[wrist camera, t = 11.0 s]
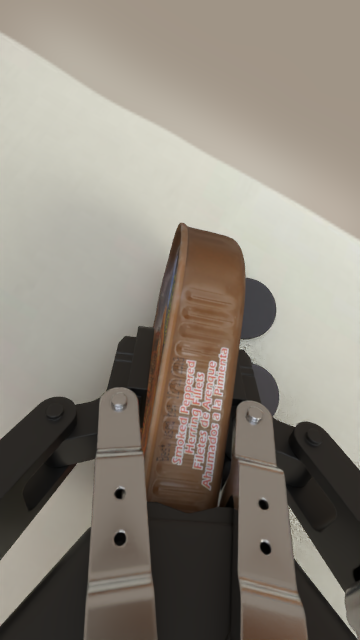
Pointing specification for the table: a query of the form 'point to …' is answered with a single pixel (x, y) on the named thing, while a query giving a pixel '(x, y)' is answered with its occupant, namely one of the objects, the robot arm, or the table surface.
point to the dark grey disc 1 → (257, 309)
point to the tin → (193, 370)
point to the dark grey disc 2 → (266, 388)
